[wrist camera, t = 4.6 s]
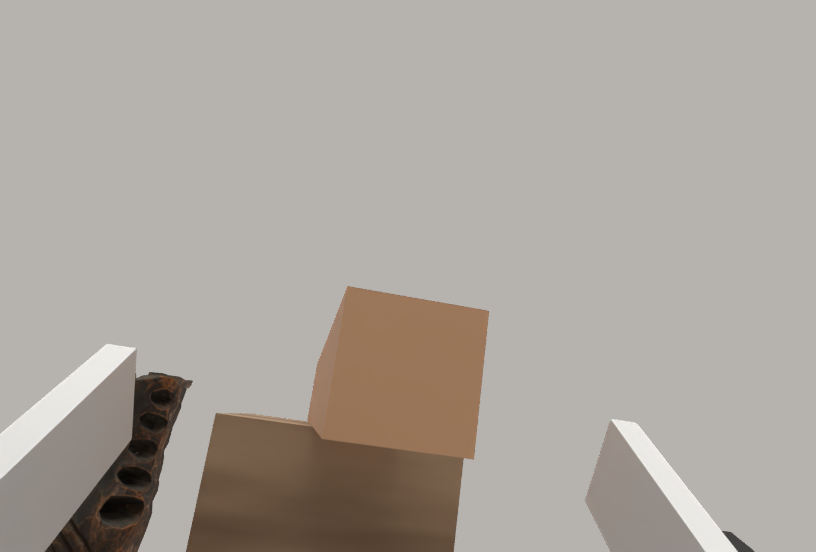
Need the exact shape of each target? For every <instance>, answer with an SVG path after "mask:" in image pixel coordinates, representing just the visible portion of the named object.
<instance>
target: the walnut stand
mask: <svg viewBox="0 0 816 552" xmlns="http://www.w3.org/2000/svg"><path fill="white" fill-rule="evenodd" d="M463 459H464V458H459V457H452V456H445V455H437V454H430V453H422V452H415V451H407V450H400V449H393V448H385V447H378V446H370V445H363V444H356V443H348V442H341V441H333V440H326V439H322V438H321V437H320V436H319V435H318V433H317V432H316V431H315V429H314V428H313V427H312V426H311V424H310V423H309V422H306V421H299V420H292V419H285V418H277V417H271V416H263V415H256V414H233V413H216V415H215V420H214V424H213V429H212V433H211V438H210V443H209V447H208V452H207V457H206V461H205V466H204V471H203V476H202V480H201V485H200V489H199V494H198V499H197V503H196V508H195V512H194V517H193V522H192V527H191V531H190V536H189V540H188V545H187V550H186V552H454V543H455V533H456V523H457V514H458V505H459V496H460V487H461V477H462V468H463Z"/></svg>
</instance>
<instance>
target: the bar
mask: <svg viewBox="0 0 816 552" xmlns="http://www.w3.org/2000/svg"><path fill="white" fill-rule="evenodd" d="M488 316H489V311H487V310H481V309H475V308H469V307H464V306H458V305H452V304H447V303H441V302H435V301H429V300H424V299H418V298H412V297H406V296H400V295H395V294H389V293H383V292H377V291H372V290H366V289H360V288H355V287H349V286H348V287H347V289H346V292H345V294H344V297H343V299H342V302H341V305H340V307H339V310H338V312H337V315H336V318H335V320H334V323H333V325H332V328H331V330H330V333H329V336H328V339H327V341H326V343H325V346H324V348H323V351H322V354H321V356H320V359H319V361H318V364H317V368H316V374H315V380H314V386H313V391H312V397H311V403H310V408H309V414H308V422H309V423H310V424H311V426H312V427H313V428H314V429H315V431H316V432H317V433H318V435H319V436H320V437H321V438H322V439H326V440H333V441H341V442H348V443H356V444H363V445H370V446H378V447H385V448H393V449H400V450H407V451H415V452H422V453H430V454H437V455H445V456H452V457H459V458H467V459H474V452H475V443H476V433H477V424H478V413H479V404H480V394H481V385H482V374H483V365H484V355H485V345H486V336H487V326H488Z"/></svg>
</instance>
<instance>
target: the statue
mask: <svg viewBox="0 0 816 552" xmlns="http://www.w3.org/2000/svg"><path fill="white" fill-rule="evenodd" d="M192 382H193V381H191V380H184V379H183V378H181V377H177V376H170V375H166V374H163V373H153V372H149V375H145V376H140V377H139V378H136V373H135V389H134V407H133V426H132V439H131V441H130V442H129V443H128V444H127V446H126V447H125V448H124V450H123V451H122V452H121V453H120V455H119V456H118V457H117V459H116V460H115V461H114V463H113V464H112V465H111V466H110V468H109V469H108V470H107V472H106V473H105V474H104V475H103V477H102V478H101V479H100V481H99V482H98V483H97V485H96V486H95V487H94V488H93V490H92V491H91V492H90V494H89V495H88V496H87V498H86V499H85V500H84V501H83V503H82V504H81V505H80V507H79V508H78V509H77V510H76V512H75V513H74V514H73V516H72V517H71V518H70V520H69V521H68V522H67V523H66V525H65V526H64V527H63V529H62V530H61V531H60V532H59V534H58V535H57V536H56V538H55V539H54V540H53V542H52V543H51V544H50V545H49V547H48V548H47V549H46V551H45V552H137V551H138V549H139V546H140V544H141V541H142V539H143V536H144V534H145V531H146V529H147V526H148V523H149V520H150V517H151V514H152V501H153V499H154V497H155V495H156V493H157V491H158V486H159V476H160V473H161V469H162V465H163V459H164V450H165V448H166V446H167V445H168V442H169V438H170V435H171V431H172V427H173V425H174V423H175V421H176V419H177V416H178V413H179V411H180V409H181V403H182V400H183V398H184V395H185V392H186V389H187V388H189V387H190V386H191V384H192Z"/></svg>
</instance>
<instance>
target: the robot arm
mask: <svg viewBox="0 0 816 552" xmlns="http://www.w3.org/2000/svg"><path fill="white" fill-rule="evenodd" d="M136 352H137V349H136V348H131V347H124V346H118V345H111V344H106V345H105V346H104V347H103V348H102V349H100V350H99V351H98V352H97V353H96V354H94V355H93V356H92V357H91V358H90V359H88V361H86V362H85V363H84V364H83V365H81V366H80V367H79V368H78V369H77V370H75V371H74V372H73V373H72V374H71V375H70V376H68V377H67V378H66V379H65V380H64V381H63V382H61V383H60V384H59V385H58V386H56V387H55V388H54V389H53V390H52V391H51V392H50V393H48V394H47V395H46V396H45V397H43V398H42V399H41V400H40V401H39V402H38V403H36V404H35V405H34V406H33V407H32V408H30V409H29V410H28V411H27V412H26V413H24V414H23V415H22V416H21V417H20V418H19V419H17V420H16V421H15V422H14V423H13V424H11V425H10V426H9V427H8V428H7V429H6V430H4V431H3V432H2V433H1V434H0V552H45V551H46V549H47V548H48V547H49V545H50V544H51V543H52V542H53V540H54V539H55V538H56V536H57V535H58V534H59V532H60V531H61V530H62V529H63V527H64V526H65V525H66V523H67V522H68V521H69V520H70V518H71V517H72V516H73V514H74V513H75V512H76V510H77V509H78V508H79V507H80V505H81V504H82V503H83V501H84V500H85V499H86V498H87V496H88V495H89V494H90V492H91V491H92V490H93V488H94V487H95V486H96V485H97V483H98V482H99V481H100V479H101V478H102V477H103V475H104V474H105V473H106V472H107V470H108V469H109V468H110V466H111V465H112V464H113V463H114V461H115V460H116V459H117V457H118V456H119V455H120V453H121V452H122V451H123V450H124V448H125V447H126V446H127V444H128V443H129V442H130V441H131V439H132V426H133V407H134V389H135V371H136ZM585 502H586V504H587V506H588V508H589V510H590V512H591V514H592V516H593V518H594V520H595V521H596V524H597V525H598V528H599V530H600V532H601V534H602V536H603V537H604V540H605V541H606V544H607V545H608V548H609V550H610V552H754V551H753V550H752V549H751V548H750V547H748V546H747V545H746V544H745V543H744V542H742V541H741V540H740V539H739V538H737V537H736V536H735V535H734V534H732V533H731V532H726V531H721V530H720V528H719V527H718V526H717V525H716V523H715V522H714V521H713V520H712V518H711V517H710V516H709V514H708V513H707V512H706V511H705V509H704V508H703V507H702V506H701V504H699V502H698V500H697V499H696V498H695V497H694V495H693V494H692V493H691V492H690V490H689V489H688V488H687V487H686V485H685V484H684V483H683V482H682V480H681V479H680V478H679V476H678V475H677V474H676V473H675V471H674V470H673V469H672V467H671V466H670V465H669V464H668V462H666V460H665V459H664V457H663V456H662V455H661V454H660V452H659V451H658V450H657V448H656V447H655V446H654V445H653V443H652V442H651V441H650V439H649V438H648V437H647V436H646V434H645V433H644V432H643V431H642V429H641V428H640V427H639V425H638V424H637V423H634V422H628V421H621V420H614V419H611V420H610V423H609V426H608V429H607V432H606V436H605V439H604V442H603V445H602V448H601V451H600V455H599V458H598V461H597V464H596V468H595V471H594V474H593V477H592V480H591V484H590V486H589V490H588V493H587V496H586V499H585Z"/></svg>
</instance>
